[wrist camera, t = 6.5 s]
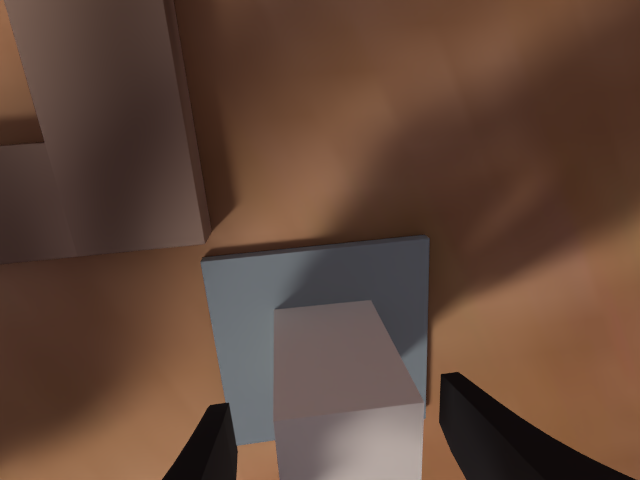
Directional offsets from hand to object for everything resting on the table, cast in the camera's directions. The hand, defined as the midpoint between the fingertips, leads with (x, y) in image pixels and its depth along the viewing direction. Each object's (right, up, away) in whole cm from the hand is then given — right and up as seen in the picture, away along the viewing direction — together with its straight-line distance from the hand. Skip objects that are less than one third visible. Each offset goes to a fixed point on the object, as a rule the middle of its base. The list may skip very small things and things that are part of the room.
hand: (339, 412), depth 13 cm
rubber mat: (0, +1, +4) cm, 4 cm away
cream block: (0, +1, +3) cm, 4 cm away
